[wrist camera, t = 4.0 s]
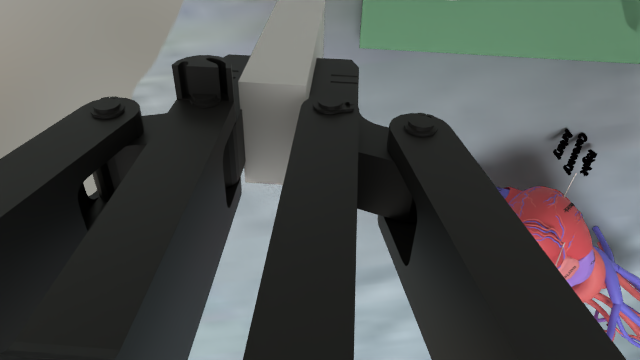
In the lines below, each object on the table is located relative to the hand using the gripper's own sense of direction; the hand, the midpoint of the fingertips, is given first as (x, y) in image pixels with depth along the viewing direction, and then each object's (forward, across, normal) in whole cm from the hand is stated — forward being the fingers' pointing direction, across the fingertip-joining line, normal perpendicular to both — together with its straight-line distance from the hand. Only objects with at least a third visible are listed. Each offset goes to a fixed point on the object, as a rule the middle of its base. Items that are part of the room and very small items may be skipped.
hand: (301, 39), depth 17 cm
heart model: (+18, -20, +19) cm, 33 cm away
